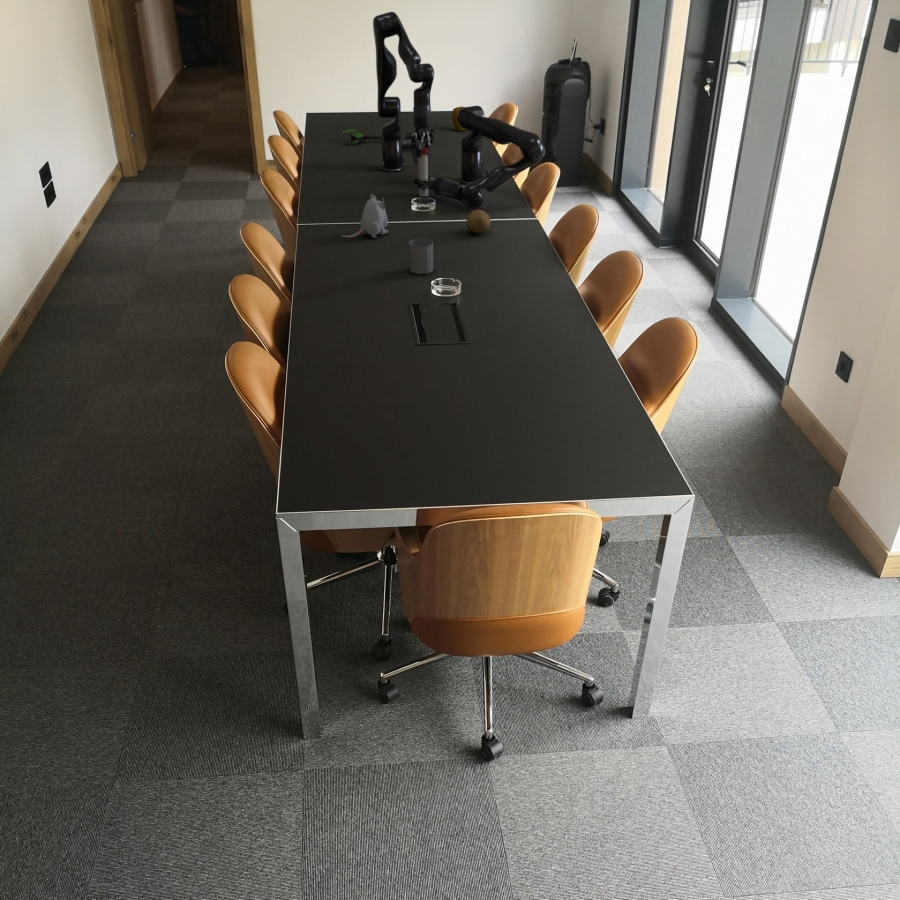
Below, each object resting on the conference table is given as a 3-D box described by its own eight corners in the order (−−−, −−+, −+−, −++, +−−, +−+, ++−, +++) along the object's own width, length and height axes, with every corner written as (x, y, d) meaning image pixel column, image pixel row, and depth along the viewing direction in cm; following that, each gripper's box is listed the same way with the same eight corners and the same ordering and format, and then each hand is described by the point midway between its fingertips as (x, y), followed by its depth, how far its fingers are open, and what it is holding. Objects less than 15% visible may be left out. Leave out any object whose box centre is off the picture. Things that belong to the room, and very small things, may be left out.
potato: (488, 225, 349) (488, 206, 345) (492, 237, 337) (492, 217, 333) (464, 226, 348) (464, 206, 344) (467, 238, 337) (467, 217, 332)
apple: (471, 132, 486) (471, 108, 479) (451, 132, 486) (451, 108, 479) (470, 128, 495) (471, 104, 488) (452, 128, 495) (452, 104, 488)
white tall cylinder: (430, 194, 386) (429, 150, 376) (425, 197, 383) (424, 152, 373) (421, 193, 388) (420, 149, 377) (417, 195, 385) (416, 151, 374)
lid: (417, 151, 378) (417, 146, 377) (428, 151, 378) (428, 146, 377) (416, 154, 373) (416, 149, 372) (428, 154, 373) (428, 149, 372)
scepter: (396, 126, 467) (340, 124, 465) (396, 141, 460) (339, 139, 458) (396, 135, 472) (341, 133, 470) (396, 151, 465) (340, 148, 463)
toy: (394, 233, 341) (393, 195, 333) (349, 248, 327) (347, 208, 319) (379, 228, 347) (377, 190, 338) (334, 242, 332) (331, 203, 324)
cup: (409, 265, 311) (408, 238, 306) (432, 265, 312) (431, 238, 307) (410, 274, 304) (409, 246, 299) (433, 273, 305) (433, 246, 299)
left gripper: (426, 110, 374) (426, 151, 383) (404, 116, 364) (405, 158, 373) (439, 113, 370) (439, 154, 379) (418, 119, 360) (418, 160, 369)
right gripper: (433, 199, 371) (407, 191, 382) (457, 193, 380) (430, 185, 390) (433, 182, 367) (406, 174, 377) (457, 175, 376) (430, 168, 386)
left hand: (422, 155), depth 376 cm, fingers closed on lid, 5 cm apart
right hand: (419, 179), depth 384 cm, fingers closed on white tall cylinder, 4 cm apart
